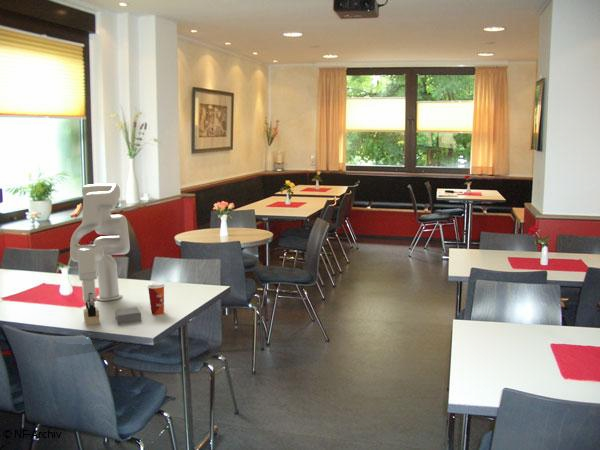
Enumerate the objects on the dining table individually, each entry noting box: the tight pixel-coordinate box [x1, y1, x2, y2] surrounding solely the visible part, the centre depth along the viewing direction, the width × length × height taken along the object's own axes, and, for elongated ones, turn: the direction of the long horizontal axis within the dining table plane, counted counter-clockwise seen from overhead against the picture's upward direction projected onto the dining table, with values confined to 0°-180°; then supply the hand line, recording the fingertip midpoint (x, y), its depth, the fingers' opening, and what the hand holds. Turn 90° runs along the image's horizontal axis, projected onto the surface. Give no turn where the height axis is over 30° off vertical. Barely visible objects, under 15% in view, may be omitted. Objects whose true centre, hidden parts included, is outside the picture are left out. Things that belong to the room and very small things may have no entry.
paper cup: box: [147, 281, 165, 316], centre depth 291 cm, size 8×8×14 cm
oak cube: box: [83, 306, 101, 326], centre depth 281 cm, size 6×6×6 cm
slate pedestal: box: [114, 306, 142, 325], centre depth 283 cm, size 10×10×4 cm
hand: (91, 313), depth 280 cm, fingers open, 9 cm apart
